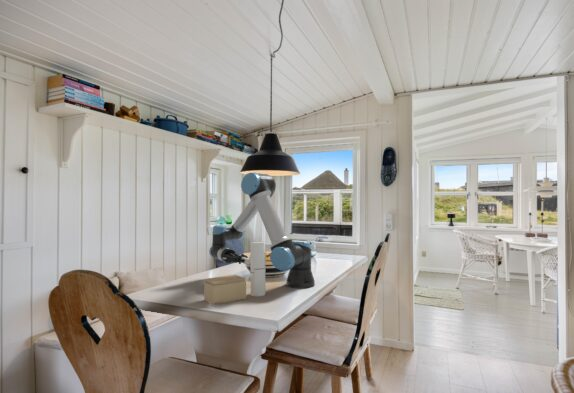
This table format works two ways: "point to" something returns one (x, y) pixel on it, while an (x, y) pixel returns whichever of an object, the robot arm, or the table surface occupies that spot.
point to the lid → (224, 279)
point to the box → (224, 292)
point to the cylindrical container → (257, 268)
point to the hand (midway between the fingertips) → (249, 261)
